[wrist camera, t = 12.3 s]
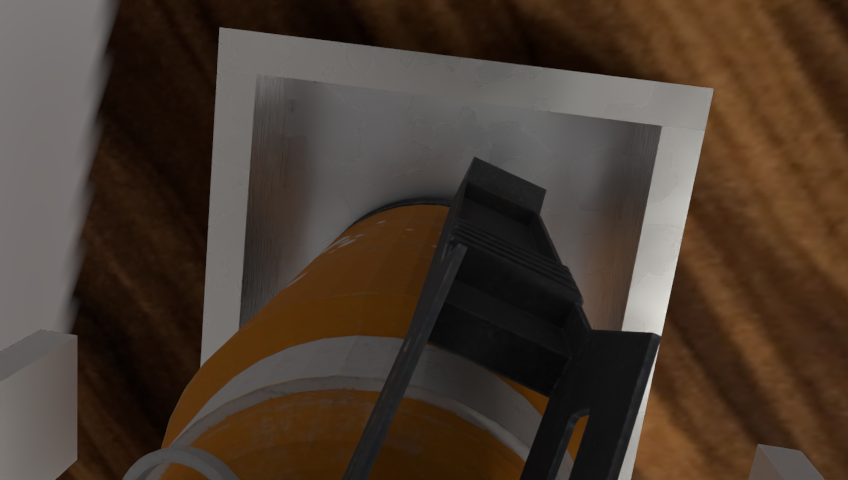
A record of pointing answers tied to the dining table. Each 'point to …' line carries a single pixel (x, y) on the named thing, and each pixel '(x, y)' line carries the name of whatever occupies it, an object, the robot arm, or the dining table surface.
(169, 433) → the canister
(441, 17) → the dining table surface
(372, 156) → the grey holder tray
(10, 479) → the robot arm
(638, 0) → the dining table surface
